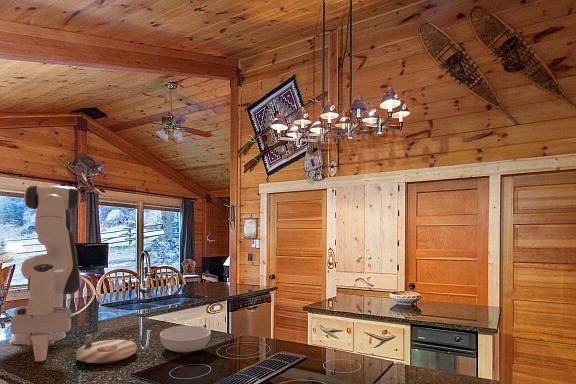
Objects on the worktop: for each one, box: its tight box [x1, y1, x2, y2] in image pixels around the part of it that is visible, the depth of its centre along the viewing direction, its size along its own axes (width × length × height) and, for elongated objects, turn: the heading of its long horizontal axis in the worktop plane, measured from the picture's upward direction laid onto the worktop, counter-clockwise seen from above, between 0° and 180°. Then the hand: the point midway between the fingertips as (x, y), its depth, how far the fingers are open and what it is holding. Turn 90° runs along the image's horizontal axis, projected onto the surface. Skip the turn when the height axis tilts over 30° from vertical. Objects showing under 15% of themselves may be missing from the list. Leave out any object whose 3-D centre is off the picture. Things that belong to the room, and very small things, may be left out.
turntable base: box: [85, 358, 127, 366], centre depth 169 cm, size 16×16×2 cm
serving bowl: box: [159, 325, 212, 353], centre depth 180 cm, size 21×21×7 cm
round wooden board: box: [75, 334, 138, 364], centre depth 169 cm, size 22×22×6 cm
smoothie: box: [31, 333, 50, 362], centre depth 164 cm, size 6×6×14 cm
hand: (40, 344), depth 164 cm, fingers closed on smoothie, 6 cm apart
